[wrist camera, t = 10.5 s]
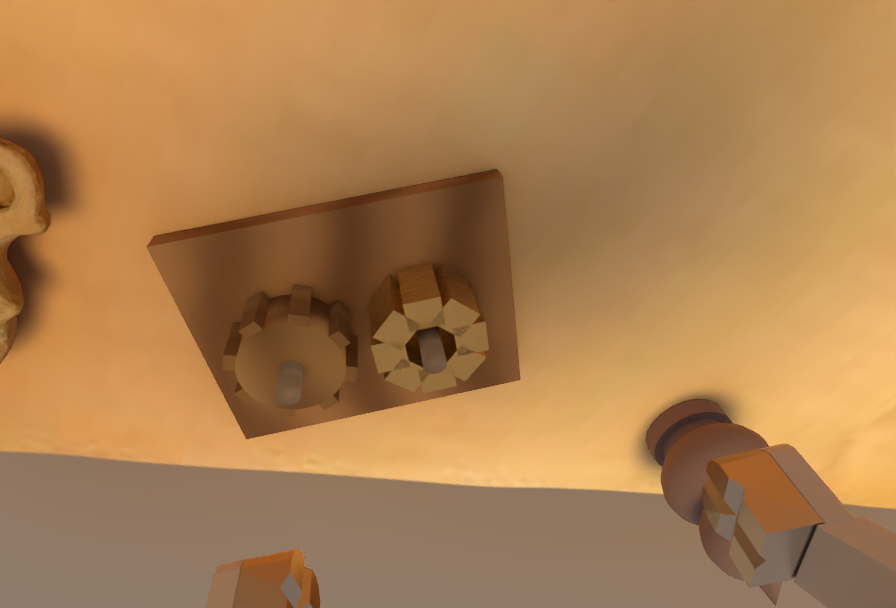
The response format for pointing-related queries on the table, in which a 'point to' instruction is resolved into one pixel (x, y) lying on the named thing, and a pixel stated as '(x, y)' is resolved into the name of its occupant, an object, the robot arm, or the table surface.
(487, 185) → the gear board
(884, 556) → the robot arm
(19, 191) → the oil lamp
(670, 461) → the turned wooden finial
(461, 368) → the brass gear
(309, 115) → the table surface
